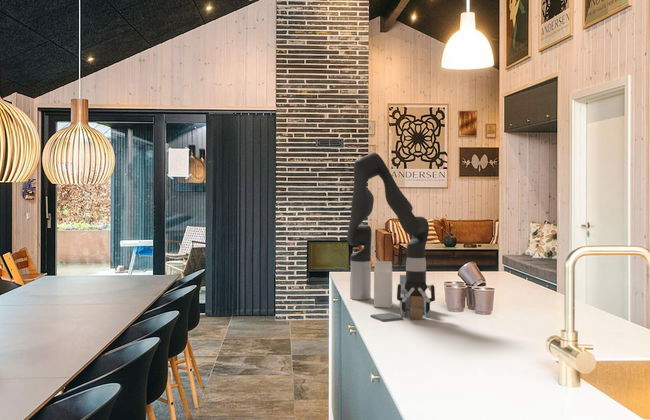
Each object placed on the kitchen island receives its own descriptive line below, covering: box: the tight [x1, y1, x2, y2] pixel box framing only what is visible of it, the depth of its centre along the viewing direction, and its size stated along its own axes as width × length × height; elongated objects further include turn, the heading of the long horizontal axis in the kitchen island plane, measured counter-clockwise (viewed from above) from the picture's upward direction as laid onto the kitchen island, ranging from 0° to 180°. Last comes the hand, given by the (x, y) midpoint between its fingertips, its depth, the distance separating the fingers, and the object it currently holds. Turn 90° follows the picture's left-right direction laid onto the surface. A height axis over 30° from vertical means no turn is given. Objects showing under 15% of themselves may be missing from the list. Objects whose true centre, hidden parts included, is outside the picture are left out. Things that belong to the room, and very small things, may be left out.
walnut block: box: [409, 295, 424, 321], centre depth 215 cm, size 4×4×9 cm
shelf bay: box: [399, 274, 430, 318], centre depth 227 cm, size 16×10×14 cm, turn 175°
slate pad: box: [370, 312, 404, 322], centre depth 216 cm, size 9×9×1 cm
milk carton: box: [373, 260, 393, 309], centre depth 240 cm, size 7×7×19 cm
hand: (415, 311), depth 215 cm, fingers open, 8 cm apart
